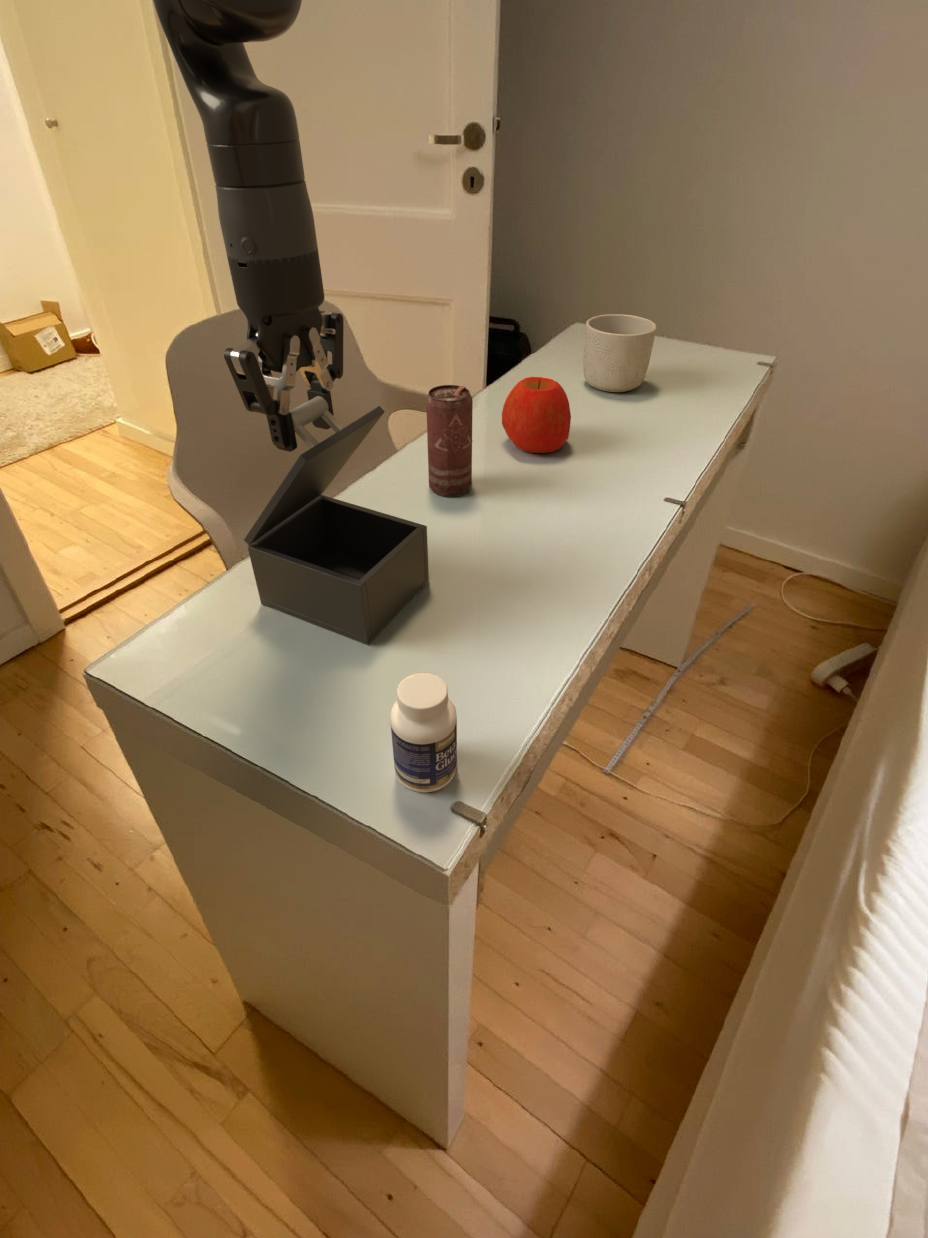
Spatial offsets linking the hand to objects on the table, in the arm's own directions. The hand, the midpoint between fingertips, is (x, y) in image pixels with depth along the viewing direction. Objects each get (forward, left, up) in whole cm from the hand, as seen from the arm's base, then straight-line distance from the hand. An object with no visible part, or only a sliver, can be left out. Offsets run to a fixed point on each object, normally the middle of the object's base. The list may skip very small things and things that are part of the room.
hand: (305, 437), depth 67 cm
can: (+21, +18, -19) cm, 33 cm away
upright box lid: (0, 0, -5) cm, 5 cm away
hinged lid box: (+2, -2, -19) cm, 19 cm away
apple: (+38, +27, -19) cm, 50 cm away
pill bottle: (+3, -29, -19) cm, 35 cm away
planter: (+62, +46, -19) cm, 79 cm away
